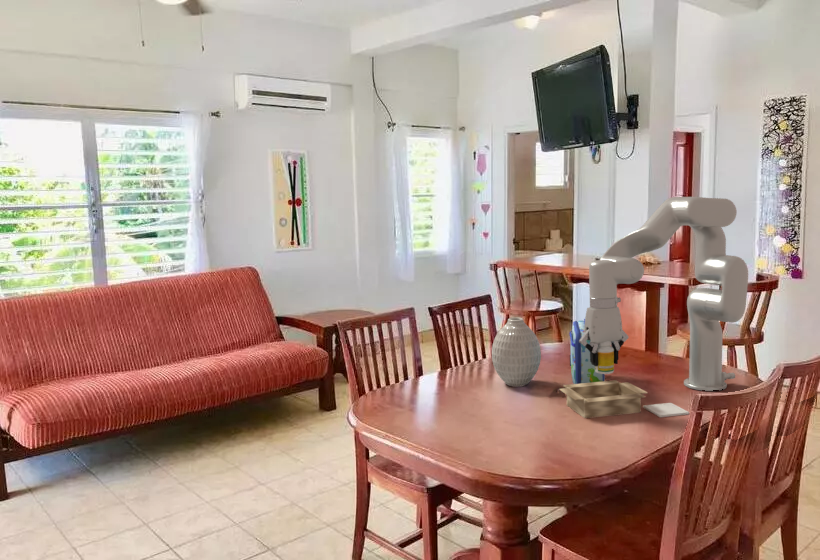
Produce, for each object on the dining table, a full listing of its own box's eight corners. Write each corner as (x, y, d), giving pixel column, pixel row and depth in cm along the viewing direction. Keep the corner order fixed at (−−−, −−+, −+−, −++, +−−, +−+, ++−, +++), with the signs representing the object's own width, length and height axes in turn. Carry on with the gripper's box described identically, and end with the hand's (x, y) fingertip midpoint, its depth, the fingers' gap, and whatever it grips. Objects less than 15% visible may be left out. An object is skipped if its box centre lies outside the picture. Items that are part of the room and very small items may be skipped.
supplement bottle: (591, 371, 198) (590, 339, 197) (606, 368, 200) (606, 336, 198) (602, 375, 193) (601, 342, 192) (618, 372, 195) (617, 340, 193)
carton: (622, 396, 208) (623, 379, 207) (653, 414, 191) (653, 395, 190) (555, 403, 204) (555, 385, 203) (580, 422, 187) (580, 402, 186)
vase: (486, 388, 222) (485, 322, 219) (499, 375, 236) (497, 313, 233) (535, 392, 215) (534, 324, 213) (545, 378, 230) (544, 315, 227)
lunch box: (569, 372, 237) (568, 314, 234) (600, 373, 235) (600, 314, 232) (571, 395, 212) (571, 329, 209) (607, 396, 209) (607, 330, 207)
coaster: (670, 404, 199) (671, 402, 199) (689, 414, 190) (689, 412, 190) (643, 407, 197) (643, 405, 197) (660, 417, 188) (660, 415, 188)
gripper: (624, 298, 199) (624, 357, 201) (569, 303, 196) (571, 364, 198) (637, 302, 191) (638, 364, 194) (581, 307, 188) (582, 370, 191)
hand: (604, 363), depth 196 cm, fingers closed on supplement bottle, 5 cm apart
